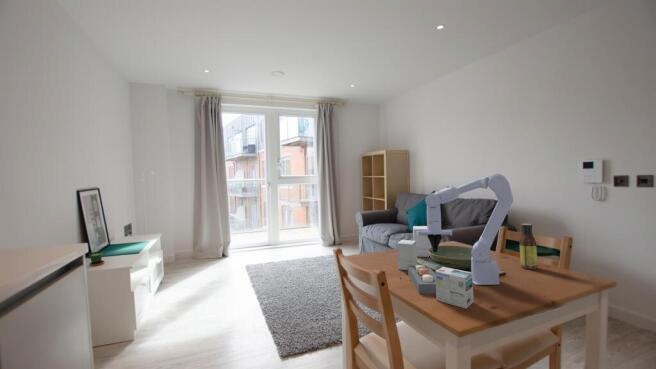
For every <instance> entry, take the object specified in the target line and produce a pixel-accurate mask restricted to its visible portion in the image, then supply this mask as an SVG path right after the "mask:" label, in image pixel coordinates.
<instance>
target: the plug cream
mask: <svg viewBox="0 0 656 369" xmlns="http://www.w3.org/2000/svg"><path fill="white" fill-rule="evenodd" d="M423 282H433V276H432V275H428V274H426V275H423Z"/></svg>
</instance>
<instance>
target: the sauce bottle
mask: <svg viewBox="0 0 656 369" xmlns="http://www.w3.org/2000/svg"><path fill="white" fill-rule="evenodd" d="M520 228H521V235H520V237H519V254H520V255H519V256H520V265H521V266H520V267H521V268H522V269H526V270H537V269H538V252H537V242H536V238H535V237H534V235H533V224H532V223H521V227H520Z"/></svg>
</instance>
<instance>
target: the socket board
mask: <svg viewBox="0 0 656 369" xmlns="http://www.w3.org/2000/svg"><path fill="white" fill-rule="evenodd" d="M424 266H425V268H427V269H429V275H432V276H433V282H423V276H419V271H416V266H408V270H407V275H408V277H409V278H410V280H411V283H412V284H413V286H414V287H415V289H416V291H417V293H418V294H426V295H427V294H429V295H430V294H432V295H433V294H435V295H436V275H435V272H434V271H433V269H432V268H431V267H430V266H429V265H424Z"/></svg>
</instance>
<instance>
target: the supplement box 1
mask: <svg viewBox="0 0 656 369" xmlns="http://www.w3.org/2000/svg"><path fill="white" fill-rule="evenodd" d="M396 246H397V265H398V267H397V268H398V270H403V271H408V266H416V265H418V257H417V246H416V241H414V240H409V239H401V240H399V241H398V242H397V243H396Z"/></svg>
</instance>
